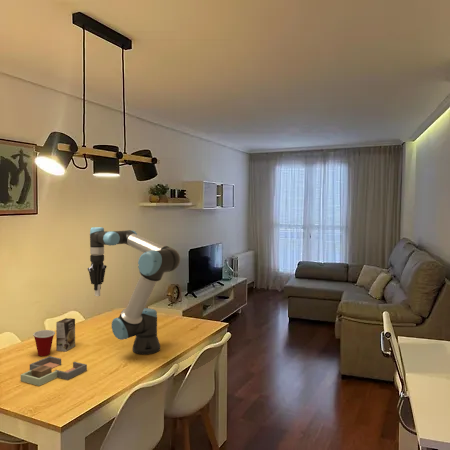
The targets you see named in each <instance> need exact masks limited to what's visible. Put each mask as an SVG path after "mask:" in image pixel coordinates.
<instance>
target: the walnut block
mask: <svg viewBox="0 0 450 450" xmlns="http://www.w3.org/2000/svg"><path fill="white" fill-rule="evenodd" d="M52 369H53V368H52V367H48V366H43V365H41V366H39V367H37V368H35V369H32V370H31V372H32V376H33V377H37V378H41V377H43V376H45V375H47V374H50V373H52V372H53V371H52Z"/></svg>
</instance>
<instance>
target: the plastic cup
mask: <svg viewBox="0 0 450 450" xmlns="http://www.w3.org/2000/svg"><path fill="white" fill-rule="evenodd" d="M55 334H56V332H55V331H54V330H52V329H51V330H50V329H41V330H37V331H35V332H33V335H32V336H33V337H34V341H35V347H36V351H37V355H38V357H48V356H50V355H51V351H52V345H53V340H54V336H55Z"/></svg>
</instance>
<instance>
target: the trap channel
mask: <svg viewBox="0 0 450 450" xmlns="http://www.w3.org/2000/svg"><path fill="white" fill-rule="evenodd" d="M41 365H43V366H48V367H52V369H55V368H56V367H59V366H62V358H60V357H55V356H52V355H51V356H50V355H48V356H46V357H45V358H42V359H39V360H36V361H35V362H31V363H30V364H29V370H28V371H25V372H23V373H21V374H20V382H23V383H25V384H26V383H27V384H30V385H34V386H37V387H41V386H42V385H44V384H46V383H49V382H51V381H53V380H56V379H57V378H58V379H61V380H65V381H68V380H70V379H72V378H74V377H78V375H81V374H83V373H85V372H86V371H87V372H88V370H87V369H88V368H87V367H88V364H87V363H81V362H77V361H73V362H72V367H71V368H69V369H67V370H65V371H63V370H58V369H55V370H54V371H52V373H50V374H47V375H45V376H43V377H41V378H37V377H33V376H32V372H31V370H32V369H35V368H37V367H39V366H41Z"/></svg>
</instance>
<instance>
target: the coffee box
mask: <svg viewBox="0 0 450 450" xmlns="http://www.w3.org/2000/svg"><path fill="white" fill-rule="evenodd" d="M55 326H56V328H55V331H56V332H55V334H56V336H55V337H56V338H55V339H56V343H55V345H56V347H55V348H56V351H57V352H68V351H69V350H71V349H73V348H75V347H76V318H71V317H70V318H66V317H65V318H63V319H61V320H59V321H56V323H55Z"/></svg>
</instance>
